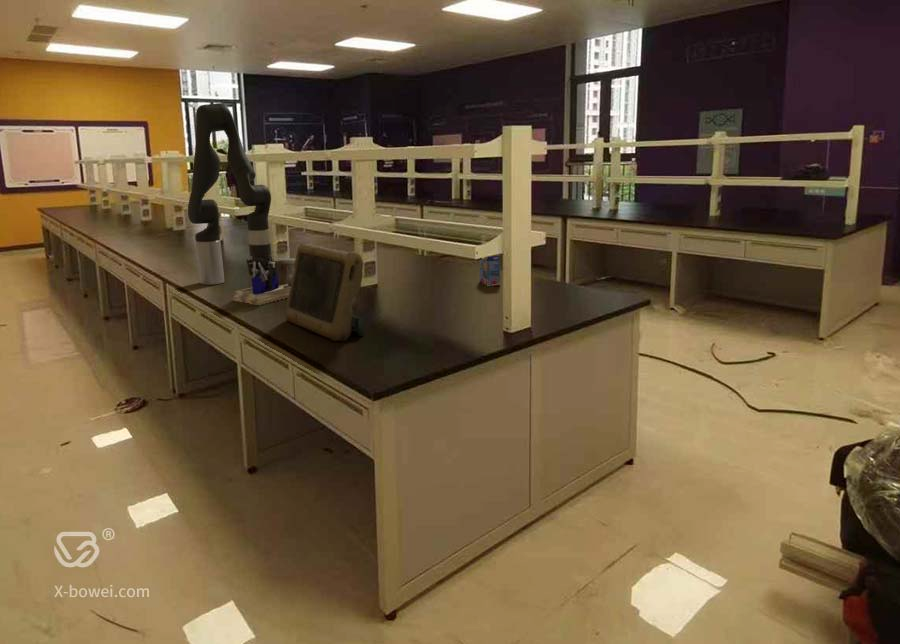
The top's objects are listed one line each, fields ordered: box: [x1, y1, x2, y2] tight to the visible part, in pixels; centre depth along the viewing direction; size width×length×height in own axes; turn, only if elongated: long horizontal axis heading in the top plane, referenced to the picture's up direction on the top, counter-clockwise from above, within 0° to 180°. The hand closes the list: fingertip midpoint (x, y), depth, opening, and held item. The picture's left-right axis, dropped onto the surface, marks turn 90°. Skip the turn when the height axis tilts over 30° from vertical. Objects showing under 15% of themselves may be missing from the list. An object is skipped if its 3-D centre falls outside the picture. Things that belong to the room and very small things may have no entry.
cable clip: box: [251, 271, 280, 295], centre depth 234 cm, size 12×4×6 cm, turn 163°
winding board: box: [232, 257, 296, 306], centre depth 238 cm, size 14×27×12 cm, turn 144°
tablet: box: [284, 240, 365, 342], centre depth 194 cm, size 33×14×25 cm, turn 45°
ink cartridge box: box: [478, 254, 501, 285], centre depth 254 cm, size 10×6×14 cm, turn 18°
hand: (263, 288), depth 234 cm, fingers closed on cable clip, 5 cm apart
